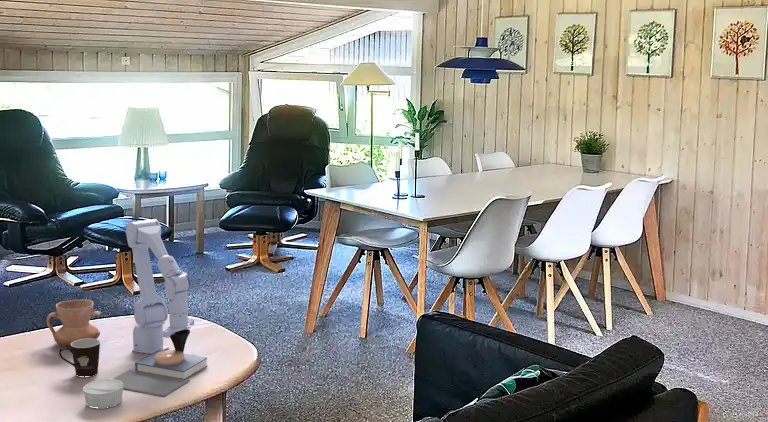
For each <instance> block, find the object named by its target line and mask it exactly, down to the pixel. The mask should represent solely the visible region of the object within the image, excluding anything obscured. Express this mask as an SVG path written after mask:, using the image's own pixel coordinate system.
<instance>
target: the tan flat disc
mask: <svg viewBox="0 0 768 422" xmlns="http://www.w3.org/2000/svg"><path fill="white" fill-rule="evenodd" d="M184 354H185V353H184V352H181V351H177V350H175V349H174V350H172V349H169V350H167V349H166V350H165V351H162V352H159V353H157V354H155V364H157V365H160V366H174V365H178V364H181V363H183V362H184Z"/></svg>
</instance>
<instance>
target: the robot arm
mask: <svg viewBox="0 0 768 422" xmlns="http://www.w3.org/2000/svg"><path fill="white" fill-rule="evenodd" d="M125 235H126V241H127V244H128V247H129V248H131V250H132V255H133V261H134V266H135V271H136V278H137V282H138V283H137V284H138V287H139V288H138V289H139V293H140V297H139V299H138V300H137V301H136V302H135V303H134V305H133V307H134V309H133V310H134V312H133V313H134V315H133V317H134V321H135V323H136V325H134V327H133V330H132V340H133V341H132V345H133V348H132V350H131V351H132V352H135V353H142V354H147V355H151V354H152V353H154V352H156V351H158V350H165V351H167V349H169V348H170V346H168V345H164V338H166V339H167V338H168V339H169V338H170V340H171V342H172V344H173V349H174V350H177V351H181V352H183V353H184V351H185V347H186V343H187V340H188V338H189V335H190V333H191V330H190V329H192V327H191V326H194V325H195V318H190V317H189V315H188V313H189V312H188V311H189V308H188V307H189V305H188V291H190V290H191V287H192V283H191V278H190V276H189V274H188V273H186V272H185V271H183V270H181V268H180V267H179V264H178V263H177V261H176V259H175V258H174V257H173V256H172V255H169V253H168V251H167V249H166V247H165V244H164V242H163V239H162V237H161V236H162V227H161V224H160V221H158V219H156V218H152V219H147V220H145V219H144V220H138V221H129V222H128V224H127V225H126V228H125ZM149 249H150V251H151V252H152V253H153V255H154V256H155V258H156V260H158V261H157V265H156V267H157V268H158V270H159V271H160V274H161V275H162V277H163V279H164V281H165V282H164V289H165V290H166V291H165V293H166V297H167V299H168V307H167V305H166V302H165V299H164V298H163V297H161V296H159V295H158V294H157V290H156V284H155V280H154V273H153V268H152V263H151V258H150V257H151V256H150V252H149ZM188 317H189V318H188ZM168 318H169V324H168V325H167V327H166V328H165V329H164V326H163V325H165V323H166V321H167V320H168Z"/></svg>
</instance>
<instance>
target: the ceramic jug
mask: <svg viewBox="0 0 768 422" xmlns="http://www.w3.org/2000/svg"><path fill="white" fill-rule="evenodd" d="M55 309H56V310H55V311H56V312H55V311H53V312H50V313H49V314H48V315H47V316H46V324H47V327H48V329H49V330H50V332H51V334H52V336H53V339H54V342H56V344H58V345H59V346H61V347H68V348H71V343H72V342H74V341H76V340H80V339H97V340H98V338H99V337H100V335H101V331H100V330H99V329H98V328H97V327H96V326H95V325H92V324H91V323H89V322H90V320H91V319H92V317H94V316H98V317H100V315H101V313H102V312H101V311H99V310H95V311H94V301H93V300H91V299H72V300H63V301H60V302H58V303H56V304H55ZM52 318H56V319H58V320H60V322H61V324H62V326H61V327H60V328H59V329H58V330H56V329H54V326H53V324H52Z"/></svg>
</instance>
